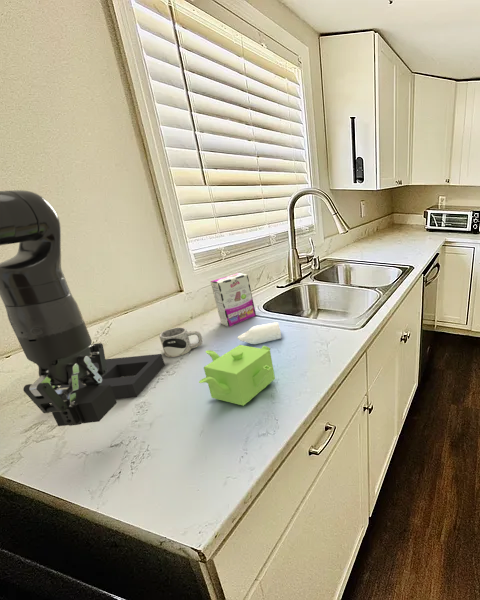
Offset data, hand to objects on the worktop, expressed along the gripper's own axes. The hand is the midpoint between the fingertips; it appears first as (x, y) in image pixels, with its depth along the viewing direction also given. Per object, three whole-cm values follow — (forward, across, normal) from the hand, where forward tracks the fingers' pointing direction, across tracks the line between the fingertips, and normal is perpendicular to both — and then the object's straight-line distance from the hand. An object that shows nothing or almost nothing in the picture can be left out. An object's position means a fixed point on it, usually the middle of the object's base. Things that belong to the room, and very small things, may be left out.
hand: (88, 412), depth 57 cm
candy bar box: (+10, -60, +8) cm, 61 cm away
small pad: (0, 0, 0) cm, 0 cm away
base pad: (+10, -25, -12) cm, 29 cm away
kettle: (+10, -15, +20) cm, 27 cm away
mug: (+10, -40, -2) cm, 41 cm away
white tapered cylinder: (+10, -41, +19) cm, 46 cm away
